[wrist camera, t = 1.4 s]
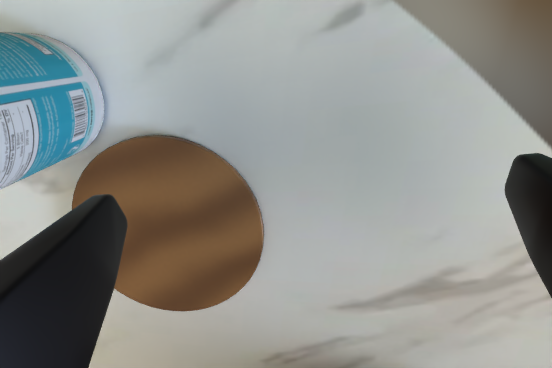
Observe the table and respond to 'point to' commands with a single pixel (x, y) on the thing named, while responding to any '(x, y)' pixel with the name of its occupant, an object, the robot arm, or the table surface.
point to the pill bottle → (44, 104)
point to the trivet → (178, 221)
